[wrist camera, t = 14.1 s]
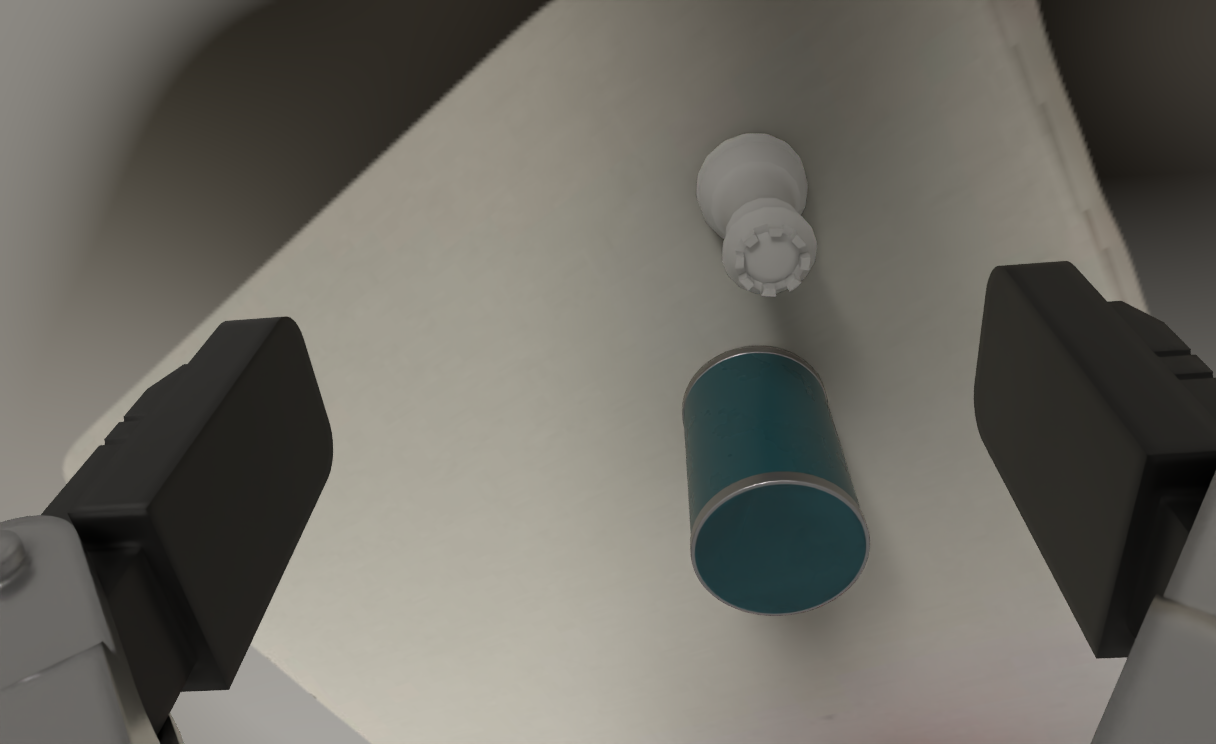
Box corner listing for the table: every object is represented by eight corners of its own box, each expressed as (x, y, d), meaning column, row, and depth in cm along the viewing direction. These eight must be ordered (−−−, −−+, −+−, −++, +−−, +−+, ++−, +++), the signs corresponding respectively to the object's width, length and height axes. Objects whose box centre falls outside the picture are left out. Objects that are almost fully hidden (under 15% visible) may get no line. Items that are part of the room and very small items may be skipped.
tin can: (678, 350, 42) (686, 485, 34) (827, 340, 42) (874, 475, 33) (685, 469, 46) (694, 619, 37) (824, 461, 45) (866, 612, 37)
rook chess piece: (819, 141, 37) (859, 215, 30) (785, 243, 40) (815, 333, 33) (711, 118, 37) (726, 186, 30) (683, 221, 39) (691, 307, 32)
